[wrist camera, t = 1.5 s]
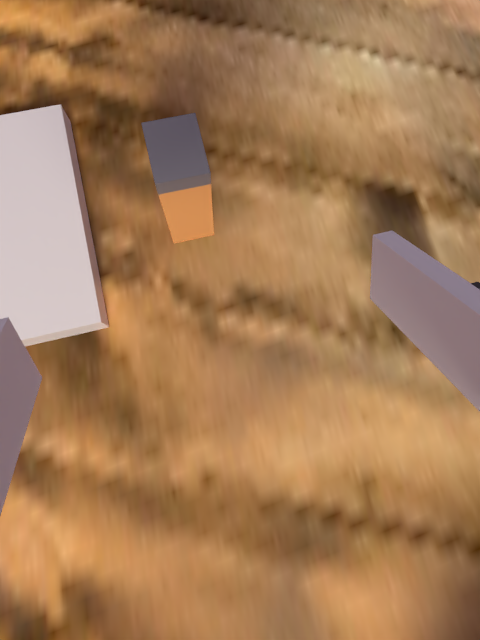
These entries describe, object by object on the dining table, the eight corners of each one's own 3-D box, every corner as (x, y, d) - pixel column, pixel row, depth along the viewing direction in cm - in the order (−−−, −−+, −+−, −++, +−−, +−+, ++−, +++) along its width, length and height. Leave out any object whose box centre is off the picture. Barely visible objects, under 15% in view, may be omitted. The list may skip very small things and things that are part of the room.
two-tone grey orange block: (163, 197, 40) (141, 122, 30) (202, 189, 41) (195, 112, 30) (173, 243, 40) (155, 184, 29) (213, 234, 40) (210, 172, 29)
